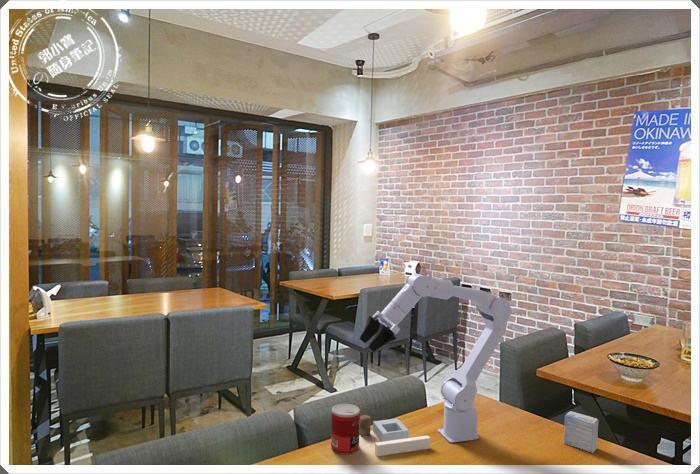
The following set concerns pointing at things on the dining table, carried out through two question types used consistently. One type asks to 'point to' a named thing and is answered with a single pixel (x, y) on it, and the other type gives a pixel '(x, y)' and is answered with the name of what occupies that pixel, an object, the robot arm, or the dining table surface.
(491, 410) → the dining table surface
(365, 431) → the dowel
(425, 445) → the bar
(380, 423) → the block
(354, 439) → the canned food
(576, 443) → the medicine box
